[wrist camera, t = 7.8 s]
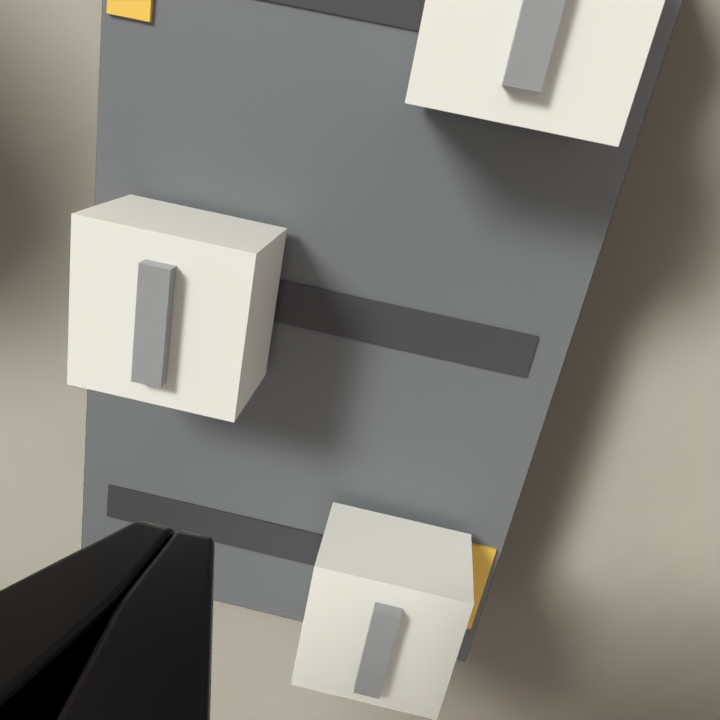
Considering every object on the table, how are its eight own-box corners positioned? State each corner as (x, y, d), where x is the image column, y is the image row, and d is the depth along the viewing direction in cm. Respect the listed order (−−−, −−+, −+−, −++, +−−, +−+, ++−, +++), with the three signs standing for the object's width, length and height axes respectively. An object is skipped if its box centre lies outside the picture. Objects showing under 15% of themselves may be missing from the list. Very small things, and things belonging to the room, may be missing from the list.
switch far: (438, 640, 18) (436, 731, 16) (310, 609, 18) (287, 694, 16) (471, 534, 17) (474, 614, 14) (333, 501, 17) (311, 575, 15)
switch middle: (265, 374, 16) (229, 429, 13) (121, 342, 16) (58, 390, 14) (287, 228, 15) (251, 257, 12) (130, 194, 15) (62, 216, 12)
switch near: (589, 136, 13) (622, 148, 11) (413, 100, 14) (403, 103, 11) (652, -70, 12) (706, -114, 9) (455, -107, 12) (456, -160, 10)
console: (463, 588, 22) (465, 664, 19) (127, 507, 22) (78, 570, 19) (667, -69, 15) (719, -107, 12) (172, -163, 15) (108, -221, 12)
